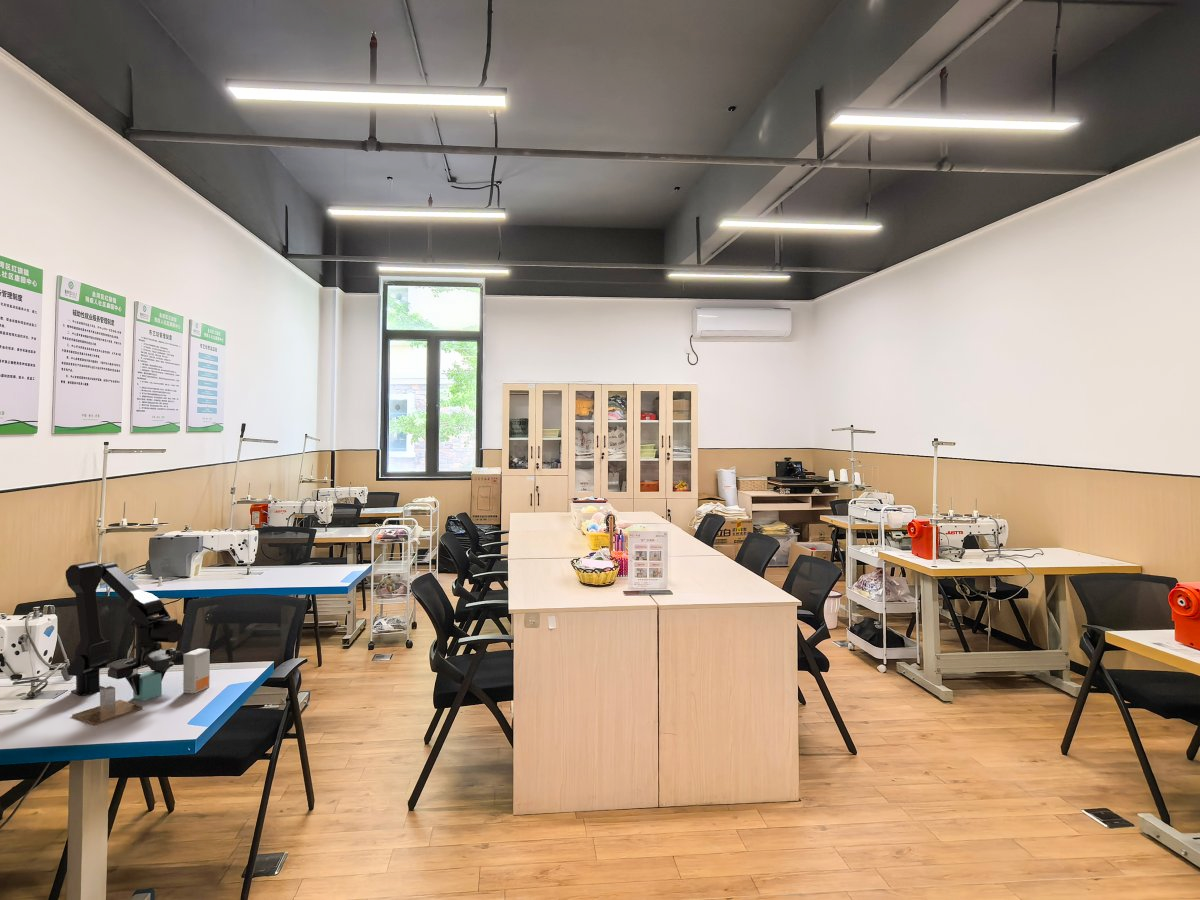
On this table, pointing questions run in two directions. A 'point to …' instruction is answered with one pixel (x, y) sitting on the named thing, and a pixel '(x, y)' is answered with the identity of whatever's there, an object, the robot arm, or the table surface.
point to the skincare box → (196, 670)
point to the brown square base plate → (107, 708)
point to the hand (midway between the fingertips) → (147, 692)
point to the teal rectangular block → (149, 686)
